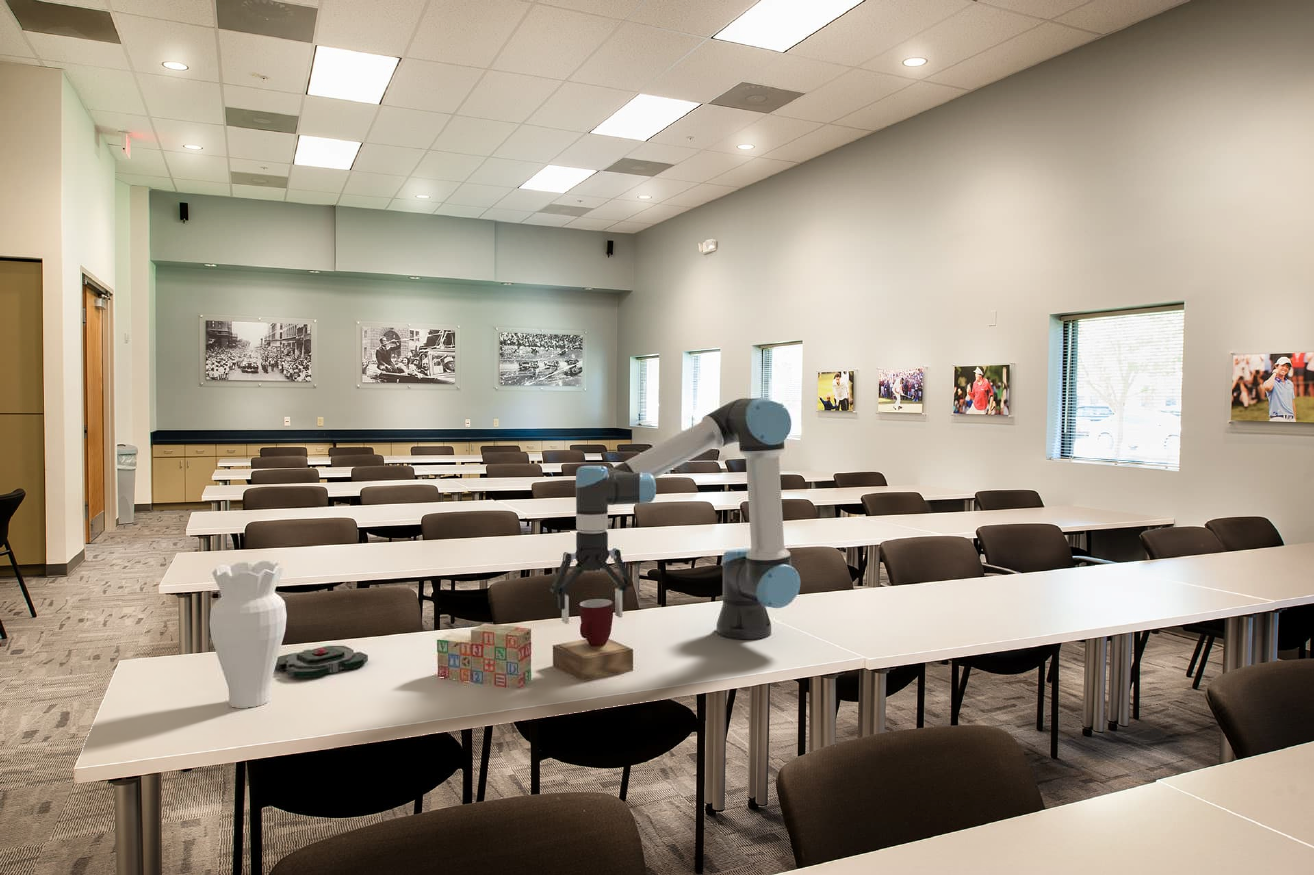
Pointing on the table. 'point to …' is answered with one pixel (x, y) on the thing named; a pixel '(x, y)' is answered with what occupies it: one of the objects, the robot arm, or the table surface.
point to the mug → (596, 620)
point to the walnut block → (592, 659)
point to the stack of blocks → (487, 656)
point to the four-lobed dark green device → (320, 661)
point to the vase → (248, 629)
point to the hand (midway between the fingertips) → (592, 619)
